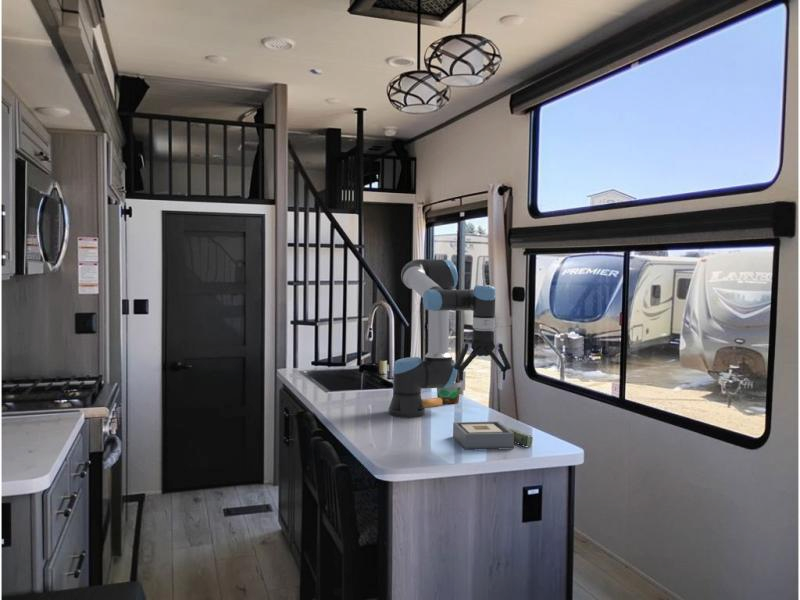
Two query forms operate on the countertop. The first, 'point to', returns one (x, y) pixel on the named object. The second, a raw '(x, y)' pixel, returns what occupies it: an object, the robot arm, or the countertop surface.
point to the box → (483, 435)
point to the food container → (449, 394)
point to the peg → (432, 402)
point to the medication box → (522, 438)
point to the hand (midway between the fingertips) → (481, 389)
